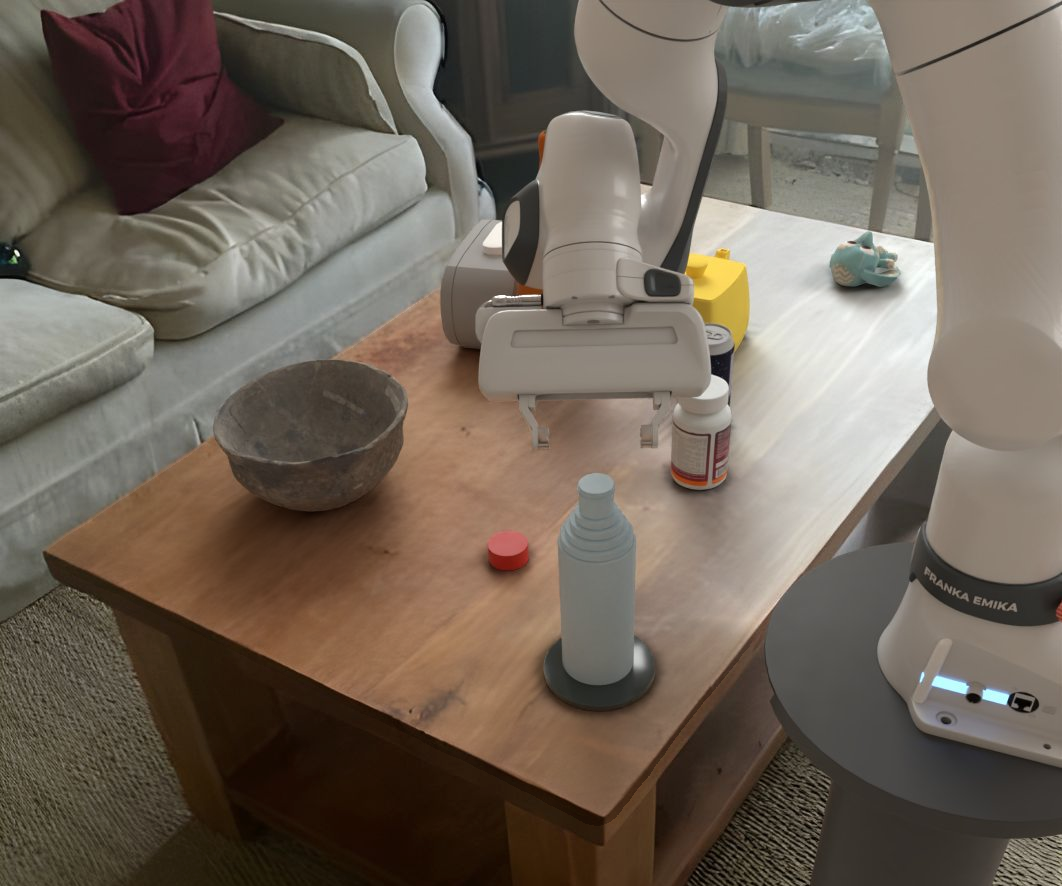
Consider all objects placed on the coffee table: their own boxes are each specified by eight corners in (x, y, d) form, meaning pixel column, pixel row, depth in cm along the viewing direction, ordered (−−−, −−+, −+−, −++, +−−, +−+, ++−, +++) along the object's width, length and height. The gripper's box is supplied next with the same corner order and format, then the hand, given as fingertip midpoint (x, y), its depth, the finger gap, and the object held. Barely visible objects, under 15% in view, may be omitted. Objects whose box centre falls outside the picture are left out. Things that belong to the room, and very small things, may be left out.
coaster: (675, 656, 99) (675, 651, 99) (619, 727, 93) (619, 722, 93) (581, 617, 104) (581, 612, 103) (522, 683, 98) (521, 678, 97)
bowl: (270, 428, 132) (252, 354, 125) (436, 436, 129) (427, 361, 122) (203, 535, 116) (179, 457, 110) (391, 548, 113) (377, 468, 107)
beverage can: (688, 409, 130) (693, 317, 123) (734, 419, 128) (742, 326, 121) (671, 433, 127) (675, 340, 119) (718, 444, 125) (725, 350, 117)
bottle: (556, 640, 101) (549, 465, 88) (624, 630, 101) (627, 455, 89) (569, 690, 96) (563, 512, 83) (641, 680, 96) (645, 501, 84)
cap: (527, 543, 113) (526, 529, 111) (529, 569, 110) (528, 554, 108) (488, 546, 113) (487, 532, 111) (489, 572, 110) (488, 557, 108)
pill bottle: (716, 455, 123) (722, 367, 116) (734, 487, 118) (742, 396, 111) (663, 464, 122) (666, 375, 115) (679, 496, 118) (684, 405, 110)
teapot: (681, 301, 151) (685, 218, 144) (766, 318, 146) (775, 234, 139) (617, 368, 138) (617, 281, 131) (708, 390, 134) (714, 301, 126)
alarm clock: (493, 291, 156) (485, 199, 147) (557, 297, 154) (554, 204, 145) (444, 363, 141) (433, 265, 133) (515, 371, 139) (508, 272, 130)
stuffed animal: (931, 237, 151) (881, 247, 144) (916, 287, 155) (866, 300, 148) (866, 215, 157) (815, 224, 150) (853, 264, 161) (803, 275, 154)
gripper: (471, 284, 94) (472, 443, 93) (711, 277, 93) (715, 438, 92) (478, 307, 100) (479, 457, 99) (703, 301, 99) (707, 452, 98)
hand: (595, 448), depth 95 cm, fingers open, 8 cm apart
